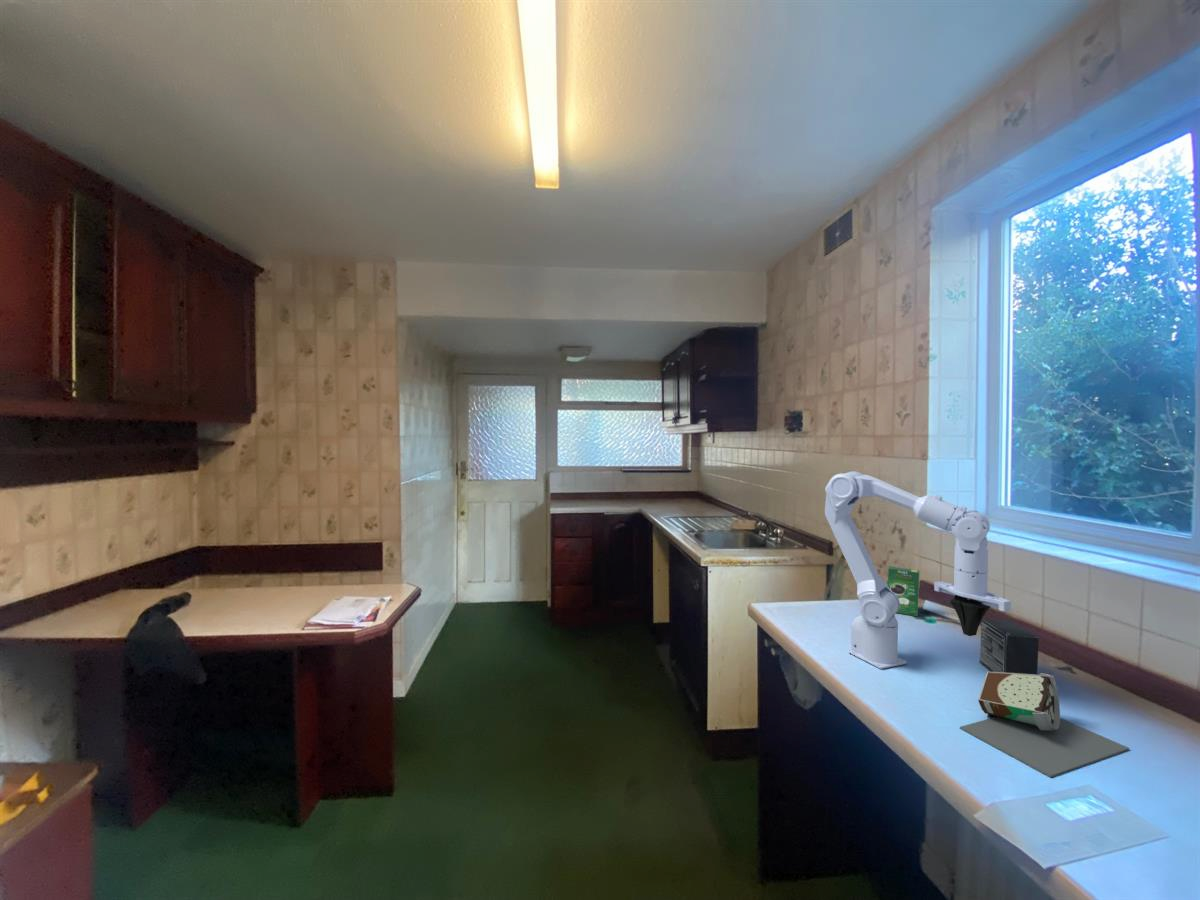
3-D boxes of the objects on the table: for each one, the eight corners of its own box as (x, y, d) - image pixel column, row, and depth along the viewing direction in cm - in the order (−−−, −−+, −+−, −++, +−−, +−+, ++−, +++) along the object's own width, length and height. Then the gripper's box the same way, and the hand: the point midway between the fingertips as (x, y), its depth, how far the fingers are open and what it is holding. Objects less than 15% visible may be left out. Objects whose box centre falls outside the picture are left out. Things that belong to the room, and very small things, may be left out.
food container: (985, 735, 94) (1057, 749, 87) (976, 704, 94) (1047, 715, 86) (996, 695, 102) (1063, 705, 95) (988, 667, 102) (1054, 674, 95)
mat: (959, 728, 92) (959, 726, 92) (1034, 707, 99) (1034, 706, 99) (1050, 777, 79) (1050, 775, 79) (1129, 749, 86) (1129, 748, 86)
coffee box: (919, 614, 149) (919, 569, 149) (918, 617, 147) (919, 571, 147) (887, 609, 154) (888, 565, 153) (886, 612, 152) (886, 567, 151)
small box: (1040, 687, 107) (1041, 637, 106) (1004, 684, 108) (1005, 635, 108) (1010, 664, 117) (1011, 619, 117) (978, 662, 118) (979, 617, 118)
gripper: (1021, 577, 102) (1020, 644, 103) (950, 560, 116) (949, 620, 116) (997, 580, 100) (996, 650, 100) (927, 563, 114) (926, 624, 114)
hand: (969, 634), depth 108 cm, fingers closed
